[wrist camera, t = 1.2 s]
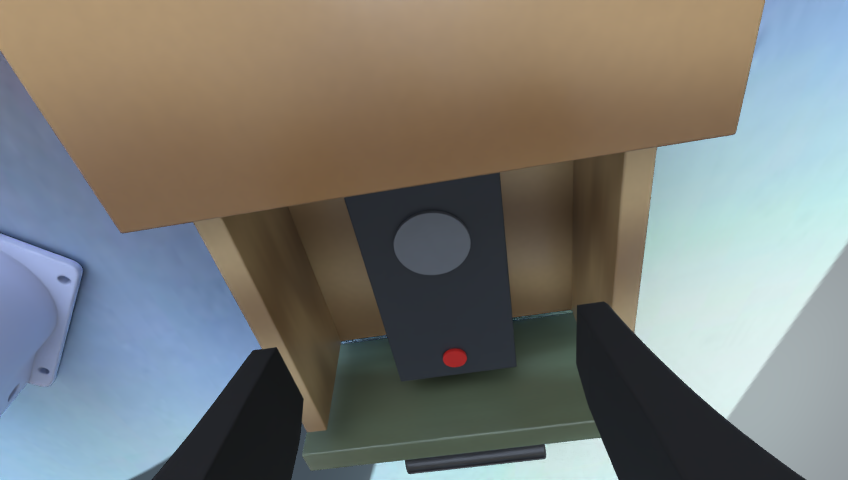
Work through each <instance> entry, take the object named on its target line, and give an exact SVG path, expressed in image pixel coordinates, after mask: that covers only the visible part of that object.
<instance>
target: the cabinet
mask: <svg viewBox="0 0 848 480" xmlns="http://www.w3.org/2000/svg"><path fill="white" fill-rule="evenodd" d="M764 3H765V0H0V51H1V52H2V54H3V55H4V57H5V58H6V60H7V61H8V63H9V64H10V66H11V67H12V69H13V70H14V72H15V73H16V75H17V77H18V78H19V80H20V81H21V83H22V84H23V86H24V87H25V89H26V90H27V92H28V93H29V95H30V96H31V98H32V99H33V101H34V102H35V104H36V105H37V107H38V108H39V110H40V111H41V113H42V114H43V116H44V117H45V119H46V121H47V122H48V124H49V125H50V127H51V128H52V130H53V131H54V133H55V134H56V136H57V137H58V139H59V140H60V142H61V143H62V145H63V146H64V148H65V149H66V151H67V152H68V154H69V155H70V157H71V158H72V160H73V161H74V163H75V164H76V166H77V168H78V169H79V171H80V172H81V174H82V175H83V177H84V178H85V180H86V181H87V183H88V184H89V186H90V187H91V189H92V190H93V192H94V193H95V195H96V196H97V198H98V199H99V201H100V202H101V204H102V205H103V207H104V208H105V210H106V211H107V213H108V215H109V216H110V218H111V219H112V221H113V222H114V224H115V225H116V227H117V228H118V230H119V231H120V232H121V233H128V232H134V231H140V230H147V229H153V228H159V227H165V226H171V225H178V224H184V223H190V222H196V221H202V220H208V219H215V218H221V217H227V216H233V215H239V214H246V213H252V212H258V211H264V210H270V209H277V208H283V207H289V206H295V205H301V204H308V203H314V202H320V201H326V200H332V199H338V198H345V197H351V196H357V195H363V194H369V193H376V192H382V191H388V190H394V189H400V188H407V187H413V186H419V185H425V184H431V183H438V182H444V181H450V180H456V179H462V178H468V177H475V176H481V175H487V174H493V173H499V172H506V171H512V170H518V169H524V168H530V167H537V166H543V165H549V164H555V163H561V162H568V161H574V160H580V159H586V158H592V157H598V156H605V155H611V154H617V153H623V152H629V151H636V150H642V149H648V148H654V147H660V146H667V145H673V144H679V143H685V142H691V141H698V140H704V139H710V138H716V137H722V136H728V135H734V134H735V133H736V130H737V125H738V121H739V116H740V112H741V107H742V103H743V98H744V94H745V89H746V85H747V80H748V76H749V71H750V67H751V62H752V58H753V53H754V49H755V44H756V40H757V35H758V31H759V26H760V22H761V17H762V12H763V8H764Z"/></svg>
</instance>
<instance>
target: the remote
mask: <svg viewBox="0 0 848 480" xmlns="http://www.w3.org/2000/svg"><path fill="white" fill-rule="evenodd" d="M344 200H345V203H346V206H347V210H348V213H349V216H350V219H351V222H352V226H353V229H354V232H355V235H356V239H357V242H358V245H359V248H360V251H361V255H362V258H363V261H364V264H365V267H366V271H367V274H368V277H369V280H370V283H371V287H372V290H373V293H374V296H375V300H376V303H377V306H378V309H379V312H380V316H381V319H382V322H383V325H384V328H385V332H386V335H387V338H388V341H389V344H390V348H391V351H392V354H393V357H394V361H395V364H396V367H397V370H398V373H399V377H400V380H401V381H410V380H418V379H426V378H434V377H441V376H449V375H457V374H465V373H473V372H480V371H488V370H496V369H504V368H512V367H516V366H517V362H516V351H515V340H514V328H513V317H512V306H511V294H510V283H509V272H508V260H507V249H506V238H505V226H504V215H503V203H502V192H501V181H500V172H499V173H493V174H487V175H481V176H475V177H468V178H462V179H456V180H450V181H444V182H438V183H431V184H425V185H419V186H413V187H407V188H400V189H394V190H388V191H382V192H376V193H369V194H363V195H357V196H351V197H345V198H344Z"/></svg>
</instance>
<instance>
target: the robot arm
mask: <svg viewBox="0 0 848 480" xmlns="http://www.w3.org/2000/svg"><path fill="white" fill-rule="evenodd" d="M82 274H83V269H82V267H81V265H80V264H79V263H77V262H76V261H74V260H71V259H69V258H66V257H63V256H60V255H58V254H55V253H52V252H50V251H47V250H44V249H41V248H39V247H36V246H33V245H31V244H28V243H25V242H22V241H20V240H17V239H14V238H12V237H9V236H6V235H3V234H1V233H0V417H1V416H2V414H3V413H4V412H5V411H6V409H7V408H8V407H9V406H10V404H11V403H12V402H13V401H14V399H15V398H16V397H17V396H18V394H19V393H20V392H21V391H22V389H23V388H24V387H25V386H26V384H27V383H30V384H34V385H37V386H41V387H48V386H51V385H52V383H53V382H54V381H55V379H56V376H57V372H58V368H59V364H60V360H61V356H62V352H63V348H64V344H65V340H66V336H67V332H68V329H69V325H70V321H71V317H72V313H73V309H74V305H75V301H76V297H77V293H78V289H79V285H80V281H81V277H82ZM65 276H66V277H65ZM576 365H577V369H578V372H579V376H580V379H581V383H582V386H583V390H584V393H585V397H586V400H587V403H588V406H589V409H590V411H591V414H592V416H593V419H594V421H595V424H596V426H597V428H598V431H599V433H600V436H601V438H602V441H603V443H604V446H605V448H606V450H607V453H608V455H609V458H610V460H611V462H612V465H613V467H614V470H615V472H616V475H617V477H618V479H619V480H806V479H804V478H803V477H802V476H800V475H798V474H797V473H796V472H794V471H793V470H791V469H790V468H789V467H787V466H786V465H785V464H783V463H782V462H781V461H779V460H778V459H777V458H775V457H774V456H773V455H771V454H770V453H768V452H767V451H766V450H764V449H763V448H762V447H760V446H759V445H758V444H757V443H755V442H754V441H753V440H751V439H750V438H749V437H748V436H746V435H745V434H743V433H742V432H741V431H740V430H738V429H737V428H736V427H735V426H734V425H732V424H731V423H730V422H729V421H728V420H726V419H725V418H724V417H723V416H722V415H720V414H719V413H718V412H717V411H716V410H714V409H713V408H712V407H711V406H710V405H709V404H708V403H706V402H705V401H704V400H703V399H702V398H701V397H700V396H698V395H697V394H696V393H695V392H694V391H693V390H692V389H691V388H689V387H688V386H687V385H686V384H685V383H684V382H683V381H682V380H681V379H680V378H679V377H678V376H677V375H676V374H674V373H673V372H672V371H671V370H670V369H669V368H668V367H667V366H666V365H665V364H664V363H663V362H662V361H661V360H660V359H659V358H658V357H657V356H656V355H655V354H654V353H653V352H652V351H651V350H650V349H649V348H648V347H647V346H646V345H645V344H644V343H643V342H642V341H641V340H640V339H639V338H638V337H637V336H636V335H635V334H634V332H633V331H632V330H631V329H630V328H629V327H628V326H627V325H626V324H625V323H624V322H623V320H622V319H621V318H620V317H619V316H618V315H617V314H616V313H615V311H614V310H613V309H612V308H611V307H610V306H609V305H608V304H607V303H606V302H604V301H603V302H596V303H588V304H581V305H577V332H576ZM303 402H304V398H303V396H302V394H301V393H300V391H299V389H298V387H297V385H296V383H295V381H294V379H293V377H292V375H291V373H290V371H289V370H288V368H287V366H286V364H285V362H284V360H283V358H282V356H281V354H280V352H279V350H278V349H277V347H274V348H267V349H260V350H253V351H252V352H251V354H250V355H249V356H248V358H247V359H246V360H245V361H244V363H243V364H242V366H241V367H240V368H239V370H238V371H237V372H236V374H235V375H234V376H233V378H232V379H231V380H230V382H229V383H228V384H227V386H226V387H225V388H224V390H223V391H222V392H221V394H220V395H219V396H218V398H217V399H216V400H215V402H214V403H213V404H212V406H211V407H210V408H209V410H208V411H207V412H206V414H205V415H204V416H203V417H202V419H201V420H200V421H199V423H198V424H197V425H196V427H195V428H194V429H193V431H192V432H191V433H190V434H189V436H188V437H187V438H186V439H185V440H184V442H183V443H182V444H181V445H180V446H179V448H178V449H177V450H176V451H175V452H174V454H173V455H172V456H171V457H170V459H169V460H168V461H167V462H166V464H165V465H164V466H163V467H162V468H161V469H160V471H159V472H158V473H157V474H156V475H155V476H154V478H153V479H152V480H291V478H292V473H293V468H294V464H295V460H296V455H297V451H298V446H299V440H300V433H301V424H302V414H303Z"/></svg>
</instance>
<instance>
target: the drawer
mask: <svg viewBox="0 0 848 480" xmlns="http://www.w3.org/2000/svg"><path fill="white" fill-rule="evenodd" d="M656 150H657V147H654V148H648V149H642V150H636V151H629V152H623V153H617V154H611V155H605V156H598V157H592V158H586V159H580V160H574V161H568V162H561V163H555V164H549V165H543V166H537V167H530V168H524V169H518V170H512V171H506V172H500V181H501V192H502V203H503V215H504V226H505V238H506V249H507V260H508V272H509V283H510V294H511V306H512V317H513V318H514V317H521V316H529V315H536V314H543V313H551V312H558V311H565V310H572V312H573V313H567V314H559V315H552V316H545V317H537V318H530V319H523V320H515V321H513V328H514V340H515V351H516V362H517V366H516V367H512V368H504V369H496V370H488V371H480V372H473V373H465V374H457V375H449V376H441V377H434V378H426V379H418V380H410V381H401V380H400V377H399V373H398V370H397V367H396V364H395V361H394V357H393V354H392V351H391V348H390V344H389V341H388V338H383V339H375V340H368V341H361V342H353V343H346V344H341V341H346V340H353V339H360V338H368V337H375V336H382V335H386V332H385V328H384V325H383V322H382V319H381V316H380V312H379V309H378V306H377V303H376V300H375V296H374V293H373V290H372V287H371V283H370V280H369V277H368V274H367V271H366V267H365V264H364V261H363V258H362V255H361V251H360V248H359V245H358V242H357V239H356V235H355V232H354V229H353V226H352V222H351V219H350V216H349V213H348V210H347V206H346V203H345V200H344V198H338V199H332V200H326V201H320V202H314V203H308V204H301V205H295V206H289V207H283V208H277V209H270V210H264V211H258V212H252V213H246V214H239V215H233V216H227V217H221V218H215V219H208V220H202V221H196V222H193V223H194V225H195V227H196V228H197V230H198V232H199V234H200V236H201V238H202V239H203V241H204V243H205V245H206V247H207V249H208V250H209V252H210V254H211V256H212V258H213V260H214V262H215V263H216V265H217V267H218V269H219V271H220V273H221V274H222V276H223V278H224V280H225V282H226V284H227V285H228V287H229V289H230V291H231V293H232V295H233V296H234V298H235V300H236V302H237V304H238V306H239V308H240V309H241V311H242V313H243V315H244V317H245V319H246V320H247V322H248V324H249V326H250V328H251V330H252V331H253V333H254V335H255V337H256V339H257V341H258V343H259V344H260V346H261V348H262V349H267V348H274V347H277V349H278V350H279V352H280V354H281V356H282V358H283V360H284V362H285V364H286V366H287V368H288V370H289V371H290V373H291V375H292V377H293V379H294V381H295V383H296V385H297V387H298V389H299V391H300V393H301V394H302V396H303V398H304V402H303V414H302V424H303V425H304V427H305V429H306V431H307V432H306V437H305V442H304V448H303V453H302V456H303V458H304V460H305V462H306V463H307V465H308V467H309V468H310V470H322V469H331V468H339V467H347V466H357V465H366V464H374V463H383V462H392V461H401V460H405V464H406V469H407V472H408V474H415V473H424V472H433V471H442V470H451V469H460V468H469V467H478V466H487V465H496V464H504V463H513V462H522V461H531V460H540V459H545V458H546V450H545V444H549V443H558V442H567V441H576V440H584V439H593V438H601V436H600V433H599V431H598V428H597V426H596V424H595V421H594V419H593V416H592V414H591V411H590V409H589V406H588V403H587V400H586V397H585V393H584V390H583V386H582V383H581V379H580V376H579V372H578V369H577V365H576V332H577V305H581V304H588V303H596V302H603V301H604V302H606V303H607V304H608V305H609V306H610V307H611V308H612V309H613V310H614V311H615V313H616V314H617V315H618V316H619V317H620V318H621V319H622V320H623V322H624V323H625V324H626V325H627V326H628V327H629V328H630V329H631V330H632V331H633V332H634V330H635V322H636V314H637V306H638V298H639V289H640V281H641V273H642V265H643V257H644V249H645V240H646V232H647V224H648V216H649V208H650V199H651V191H652V183H653V175H654V167H655V158H656Z"/></svg>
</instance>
